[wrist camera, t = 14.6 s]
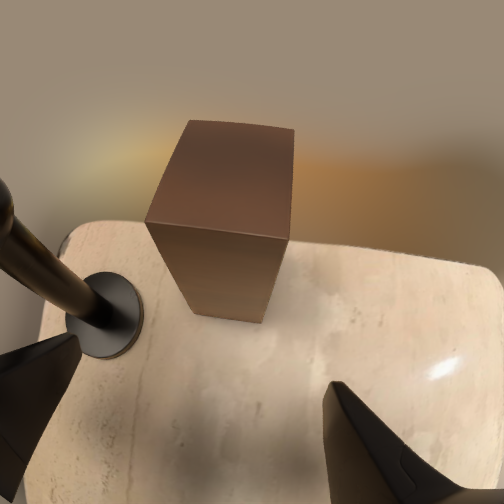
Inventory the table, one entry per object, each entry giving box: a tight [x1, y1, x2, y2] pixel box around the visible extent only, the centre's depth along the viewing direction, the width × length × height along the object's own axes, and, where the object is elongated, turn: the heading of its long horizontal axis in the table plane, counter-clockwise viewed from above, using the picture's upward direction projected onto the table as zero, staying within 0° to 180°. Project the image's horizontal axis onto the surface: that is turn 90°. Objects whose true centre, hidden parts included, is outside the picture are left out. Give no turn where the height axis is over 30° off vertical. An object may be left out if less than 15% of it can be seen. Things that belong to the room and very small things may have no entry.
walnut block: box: [145, 120, 294, 323], centre depth 16 cm, size 6×5×12 cm
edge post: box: [0, 179, 143, 359], centre depth 12 cm, size 7×7×16 cm
